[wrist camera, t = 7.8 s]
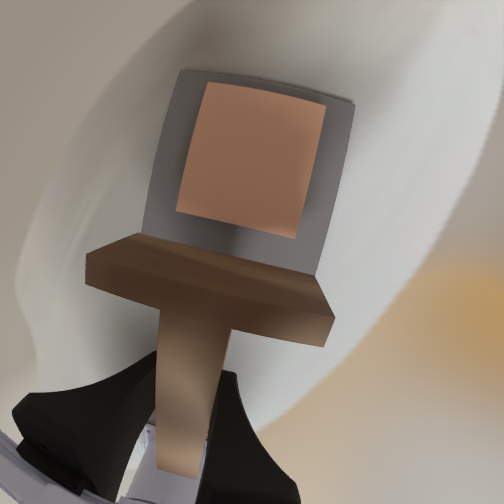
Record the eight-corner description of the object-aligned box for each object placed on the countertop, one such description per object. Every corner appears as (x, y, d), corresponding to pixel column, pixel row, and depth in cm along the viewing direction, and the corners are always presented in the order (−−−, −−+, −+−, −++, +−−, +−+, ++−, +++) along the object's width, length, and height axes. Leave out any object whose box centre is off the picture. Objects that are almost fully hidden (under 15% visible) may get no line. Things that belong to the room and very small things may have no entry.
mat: (308, 289, 17) (309, 292, 17) (142, 249, 17) (139, 250, 17) (352, 107, 15) (355, 104, 14) (183, 72, 15) (180, 69, 14)
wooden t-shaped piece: (252, 440, 16) (248, 489, 12) (133, 408, 16) (110, 450, 12) (313, 275, 13) (335, 317, 8) (137, 232, 13) (86, 254, 8)
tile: (295, 239, 15) (326, 105, 13) (175, 210, 15) (208, 81, 13) (293, 235, 16) (322, 111, 15) (181, 209, 16) (211, 88, 15)
